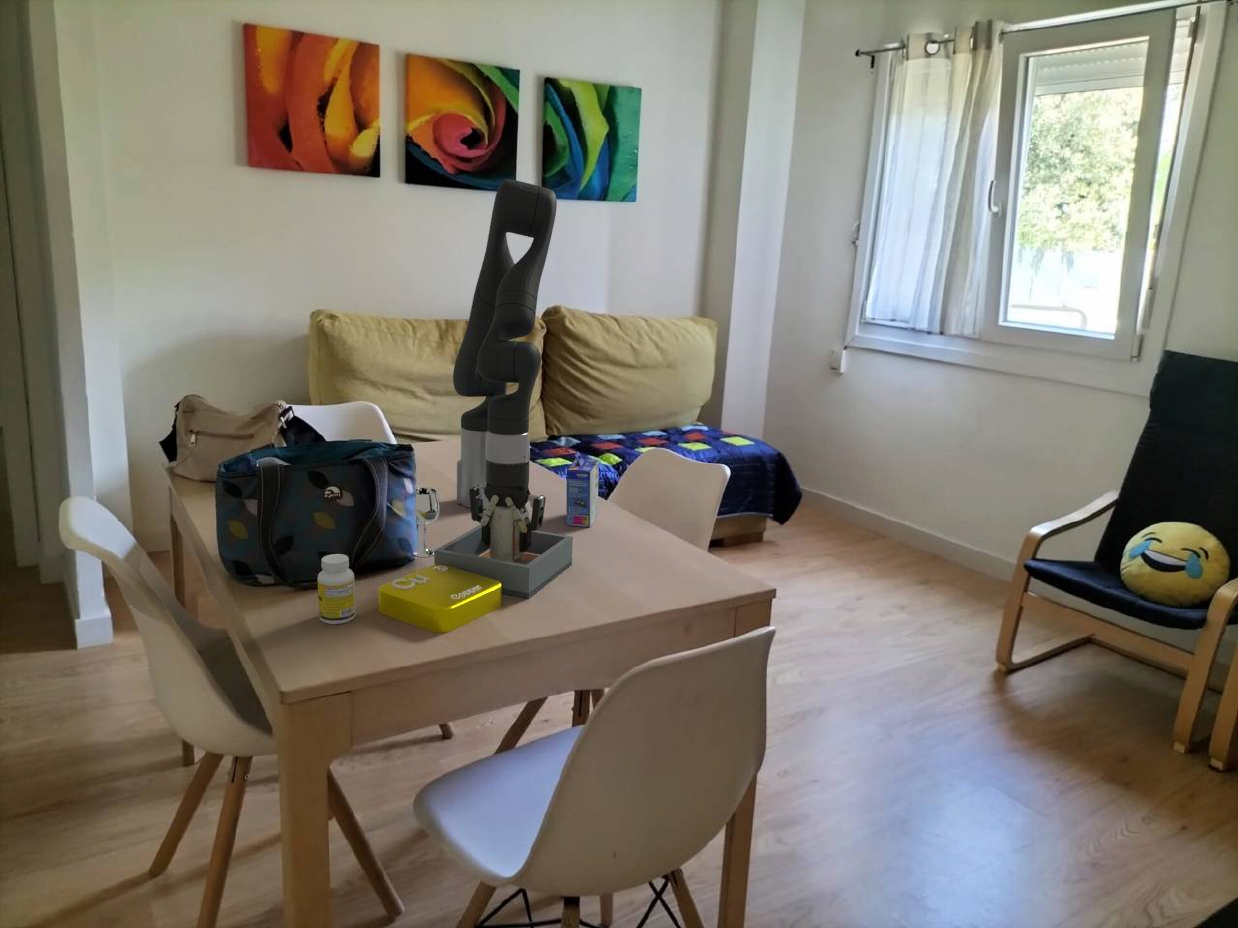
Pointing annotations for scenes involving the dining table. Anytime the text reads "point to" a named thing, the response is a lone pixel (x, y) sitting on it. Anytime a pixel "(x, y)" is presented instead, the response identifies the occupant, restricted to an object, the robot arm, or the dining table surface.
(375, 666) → the dining table surface
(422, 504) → the wineglass
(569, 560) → the box
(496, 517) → the skincare box
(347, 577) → the supplement bottle
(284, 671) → the dining table surface
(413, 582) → the element tile
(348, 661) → the dining table surface
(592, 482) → the ink cartridge box
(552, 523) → the dining table surface
